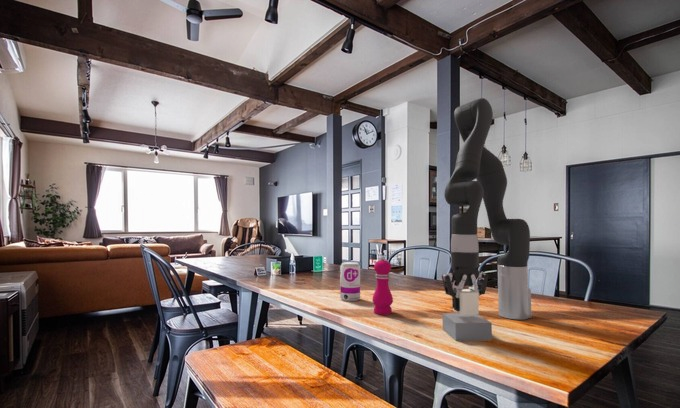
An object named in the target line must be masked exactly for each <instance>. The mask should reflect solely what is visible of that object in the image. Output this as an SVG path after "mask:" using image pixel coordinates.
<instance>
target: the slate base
mask: <svg viewBox="0 0 680 408" xmlns="http://www.w3.org/2000/svg"><path fill="white" fill-rule="evenodd" d="M492 326H493V323H492V322H491V321H489V320H488V319H486V318H485V317H483V316H481V315H480V314H473V315H462V314H459V313H457V312H451V313H450V312H449V313H448V312H447V313H445V312H444V313H442V330H443V332H445V334H447V335H448V336H450V338H452V339H453V340H454V341H455V342H468V341H469V342H471V341H472V342H473V341H474V342H475V341H476V342H477V341H478V342H479V341H481V342H482V341H487V342H488V341H493V331H492V329H493V328H492Z"/></svg>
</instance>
